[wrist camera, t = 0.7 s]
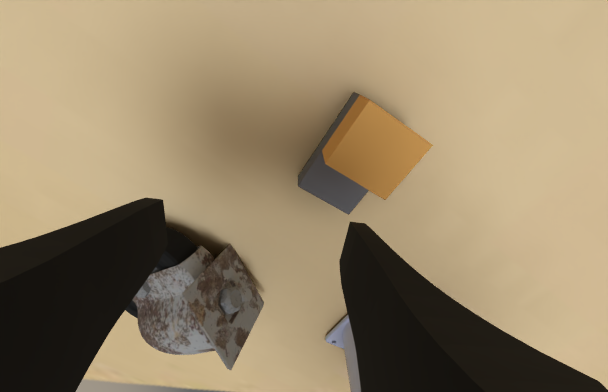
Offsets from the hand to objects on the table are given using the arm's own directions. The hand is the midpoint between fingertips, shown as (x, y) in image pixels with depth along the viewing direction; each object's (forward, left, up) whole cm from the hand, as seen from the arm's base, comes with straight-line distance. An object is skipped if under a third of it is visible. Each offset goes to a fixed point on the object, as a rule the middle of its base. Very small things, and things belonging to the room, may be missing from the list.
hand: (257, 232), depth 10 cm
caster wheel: (+2, +14, -10) cm, 17 cm away
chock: (-4, -3, -10) cm, 11 cm away
